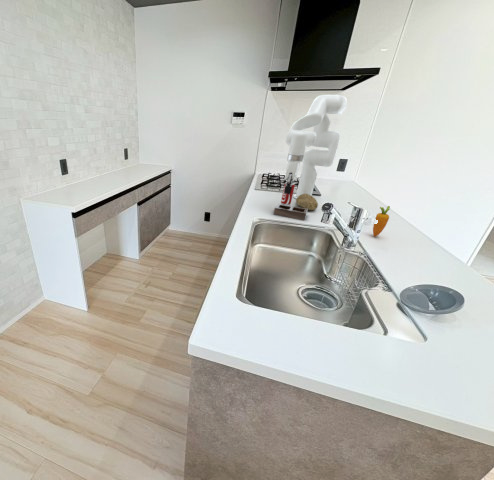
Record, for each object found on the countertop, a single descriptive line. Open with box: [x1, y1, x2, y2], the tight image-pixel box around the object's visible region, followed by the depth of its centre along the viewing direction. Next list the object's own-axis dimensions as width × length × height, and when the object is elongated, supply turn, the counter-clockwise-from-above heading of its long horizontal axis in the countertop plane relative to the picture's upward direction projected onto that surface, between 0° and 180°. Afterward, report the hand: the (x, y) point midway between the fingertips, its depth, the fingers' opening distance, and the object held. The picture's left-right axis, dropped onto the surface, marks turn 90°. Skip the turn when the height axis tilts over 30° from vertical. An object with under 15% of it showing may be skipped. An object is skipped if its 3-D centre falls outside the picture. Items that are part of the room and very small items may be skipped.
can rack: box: [273, 203, 309, 221], centre depth 144 cm, size 9×16×4 cm, turn 59°
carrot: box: [372, 205, 391, 237], centre depth 118 cm, size 5×5×15 cm
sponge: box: [295, 194, 319, 211], centre depth 157 cm, size 13×8×20 cm
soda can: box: [280, 181, 296, 206], centre depth 142 cm, size 5×5×12 cm
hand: (288, 191), depth 142 cm, fingers closed on soda can, 5 cm apart
